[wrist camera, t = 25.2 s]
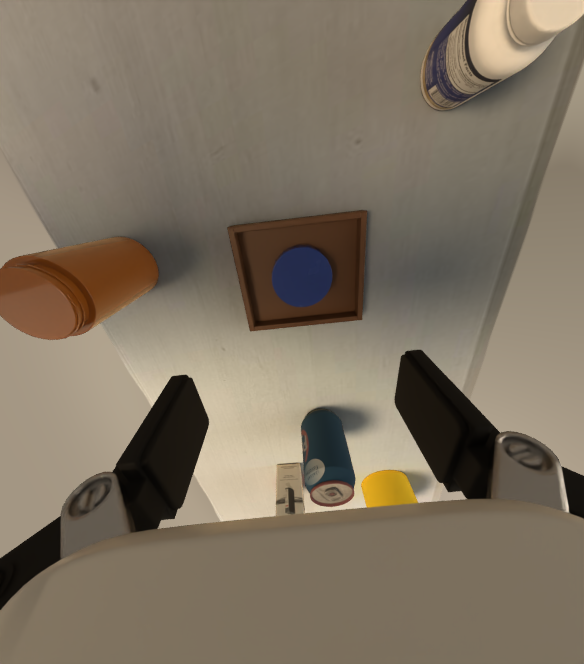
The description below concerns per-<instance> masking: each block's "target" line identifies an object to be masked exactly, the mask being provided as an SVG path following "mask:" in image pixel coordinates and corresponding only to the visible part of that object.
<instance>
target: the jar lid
mask: <svg viewBox="0 0 584 664" xmlns="http://www.w3.org/2000/svg"><path fill="white" fill-rule="evenodd" d="M271 274H272V285H273V288H274V290H275V292H276V294H277V295H278V297H279V298H280V299H281V300H282V301H284V302H285V303H287V304H289V305H291V306H295V307H307V306H311V305H314V304H316V303H317V302H319V301H320V300H322V299H323V298H324V297H325V296H326V294H327V293H328V291H329V289H330V287H331V283H332V269H331V266H330V264H329V262H328V259H327V258H326V257H325V256H324V255H323V254H322V253H321V252H320V251H319V249H316V248H314V247H311V246H308V245H307V244H306V245H296V246H295V245H294V246H292V247H290V248H288V249H286V250H285V251H283V252H282V253H281V254H280V255H279V257H278V258H277V260H275V264H274V267H273V270H272V273H271Z"/></svg>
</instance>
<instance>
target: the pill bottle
mask: <svg viewBox="0 0 584 664" xmlns="http://www.w3.org/2000/svg"><path fill="white" fill-rule="evenodd" d="M583 14H584V0H467V1H466V2H465V4H464V5H463V6H462V7H461V8H460V9H459V10H458V11H457V13H456V14H455V15H454V16H453V17H452V18H451V19H450V21H449V22H448V23H447V24H446V25H445V26H444V27H443V28H442V30H441V31H440V32H439V33H438V35H437V36H436V37H435V38H434V40H433V41H432V43H431V45H430V46H429V48H428V50H427V52H426V55H425V57H424V60H423V64H422V68H421V77H420V83H421V90H422V94H423V96H424V99H425V100H426V102H427V103H428V104H429V105H430V106H431V107H433V108H434V109H437V110H449V109H453V108H455V107H457V106H459V105H461V104H463V103H464V102H466V101H468V100H470V99H471V98H473V97H475V96H477V95H478V94H480V93H482V92H484V91H485V90H487V89H489V88H491V87H492V86H494V85H496V84H498V83H499V82H501V81H503V80H505V79H506V78H508V77H510V76H512V75H514V74H515V73H517V72H519V71H521V70H522V69H524V68H525V67H527V66H528V65H529V64H530V63H532V62H533V61H534V60H535V59H536V58H537V57H538V56H539V55H541V54H542V52H543V51H544V50H545V49H546V48H547V47H548V45H549V44H550V43H551V42H552V40H553V39H554V37H555V36H556V35H557V34H558V33H560V32H561V31H563V30H564V29H566V28H567V27H569V26H570V25H572V24H573V23H574V22H576V21H577V20H578V19H579V18H580V17H581V16H582V15H583Z"/></svg>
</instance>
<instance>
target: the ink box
mask: <svg viewBox="0 0 584 664" xmlns="http://www.w3.org/2000/svg"><path fill="white" fill-rule="evenodd" d="M304 513H305V508H304V496H303V483H302V475H301V467H300V463H297V464H284V465H277V476H276V516H284V515H294V514H304Z"/></svg>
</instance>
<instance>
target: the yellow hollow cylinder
mask: <svg viewBox="0 0 584 664" xmlns="http://www.w3.org/2000/svg"><path fill="white" fill-rule="evenodd" d="M361 487H362V491H363V495H364V499H365V502H366V506H367V508H368V507H379V506H390V505H401V504H412V503H418V501H417V499H416V497H415V494H414V492H413V490H412V488H411V485H410V483H409V481H408V478H407V476H406V475H405V474H404V473H402V472H400V471H395V470H384V471H379V472H376V473H373V474H371V475H369V476H368V477H366V478H365V479H364V480H363V482H362V484H361Z"/></svg>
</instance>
